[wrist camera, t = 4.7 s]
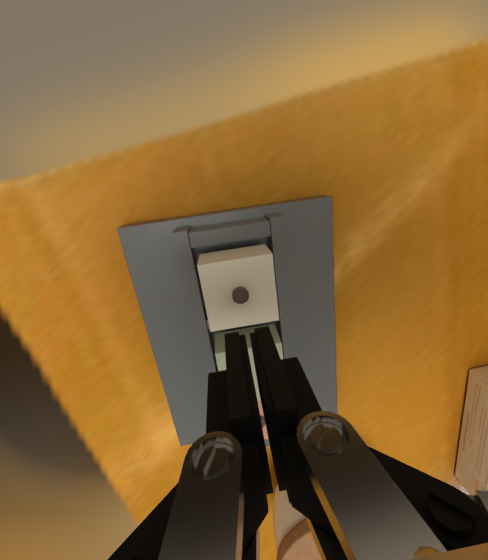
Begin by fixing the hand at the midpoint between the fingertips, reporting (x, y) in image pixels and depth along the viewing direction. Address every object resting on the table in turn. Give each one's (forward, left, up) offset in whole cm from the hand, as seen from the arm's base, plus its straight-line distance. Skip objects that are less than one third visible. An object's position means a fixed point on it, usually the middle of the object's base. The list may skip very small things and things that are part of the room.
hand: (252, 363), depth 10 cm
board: (0, +5, -11) cm, 12 cm away
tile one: (0, -1, -8) cm, 8 cm away
